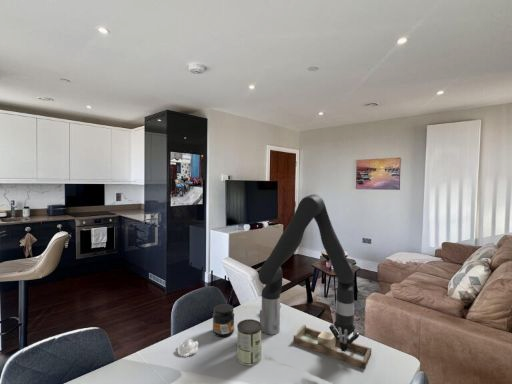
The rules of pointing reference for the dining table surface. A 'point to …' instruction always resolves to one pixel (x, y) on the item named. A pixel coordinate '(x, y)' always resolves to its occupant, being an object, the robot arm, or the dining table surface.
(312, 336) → the track
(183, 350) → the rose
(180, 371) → the dining table surface
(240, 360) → the coffee can
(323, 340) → the oak block
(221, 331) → the supplement container
